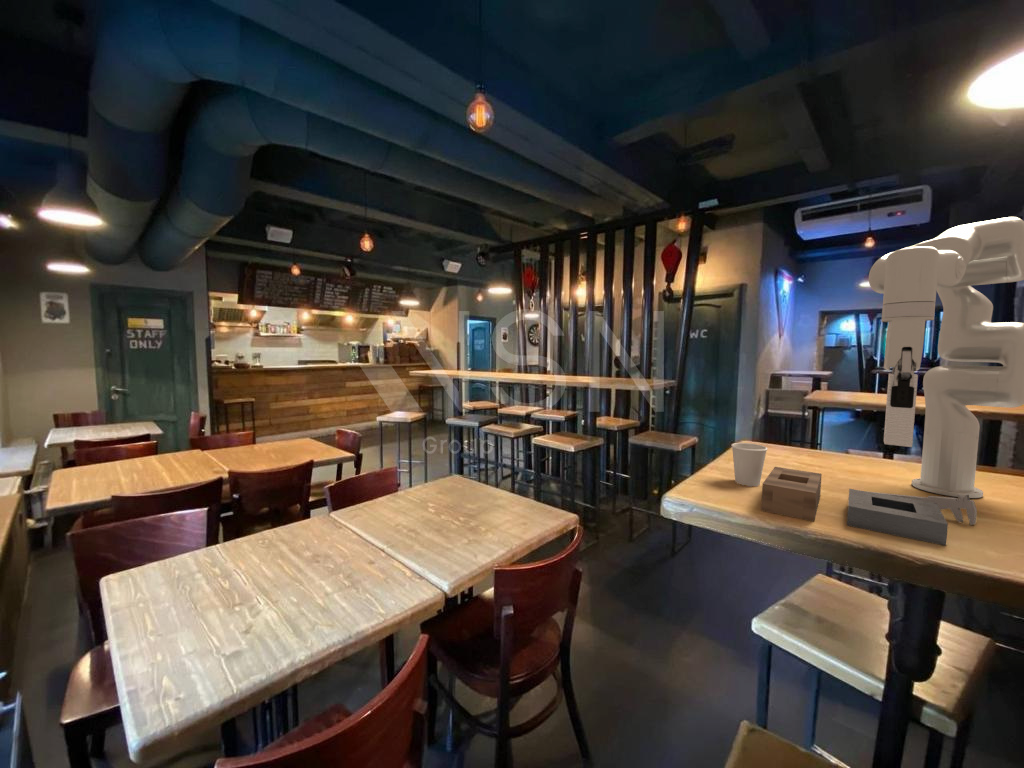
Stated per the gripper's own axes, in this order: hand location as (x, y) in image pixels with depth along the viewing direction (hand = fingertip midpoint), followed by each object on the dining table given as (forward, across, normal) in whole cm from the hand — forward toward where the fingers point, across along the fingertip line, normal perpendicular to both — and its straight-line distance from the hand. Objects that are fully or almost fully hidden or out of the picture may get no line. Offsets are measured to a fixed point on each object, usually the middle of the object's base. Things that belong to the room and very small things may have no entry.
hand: (900, 405), depth 84 cm
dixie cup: (+24, -11, -28) cm, 39 cm away
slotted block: (+24, 0, -17) cm, 30 cm away
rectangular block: (+8, 0, 0) cm, 8 cm away
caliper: (+25, -14, +4) cm, 29 cm away
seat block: (+24, 0, 0) cm, 24 cm away
